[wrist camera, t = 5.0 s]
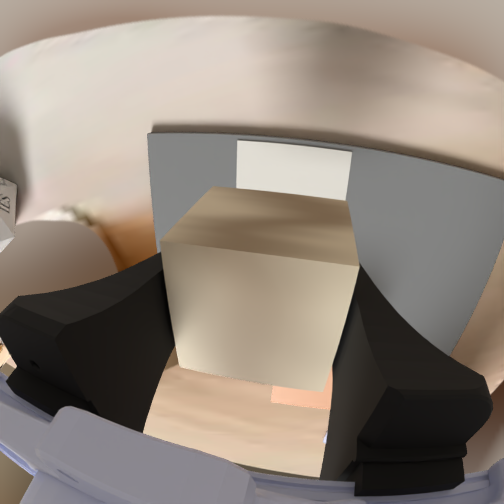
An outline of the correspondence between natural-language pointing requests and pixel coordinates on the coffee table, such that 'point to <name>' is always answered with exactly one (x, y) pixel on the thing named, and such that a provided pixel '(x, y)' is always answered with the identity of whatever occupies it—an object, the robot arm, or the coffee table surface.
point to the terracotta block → (304, 396)
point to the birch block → (260, 285)
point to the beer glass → (3, 354)
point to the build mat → (358, 212)
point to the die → (7, 212)
